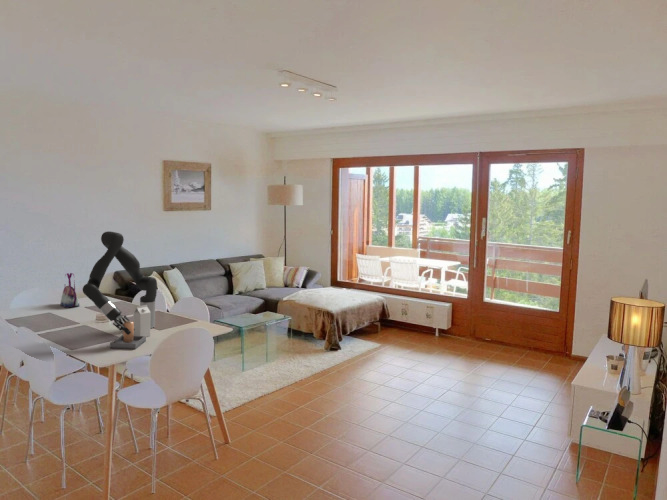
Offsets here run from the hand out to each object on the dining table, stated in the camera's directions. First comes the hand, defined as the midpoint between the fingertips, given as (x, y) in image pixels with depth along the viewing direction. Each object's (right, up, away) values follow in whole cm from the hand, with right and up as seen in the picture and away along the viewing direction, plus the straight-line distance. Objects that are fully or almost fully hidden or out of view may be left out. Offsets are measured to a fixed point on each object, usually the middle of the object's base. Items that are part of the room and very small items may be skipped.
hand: (131, 332), depth 280 cm
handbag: (-83, +5, +88) cm, 121 cm away
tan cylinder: (-2, -5, 0) cm, 6 cm away
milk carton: (-2, -6, +19) cm, 20 cm away
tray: (-2, -7, +1) cm, 8 cm away
